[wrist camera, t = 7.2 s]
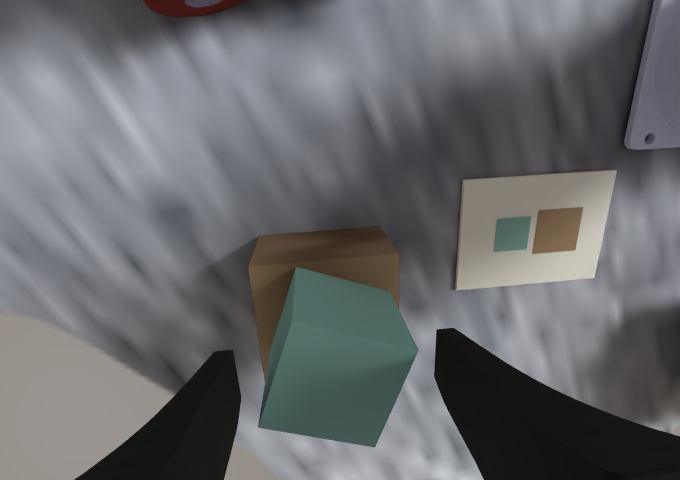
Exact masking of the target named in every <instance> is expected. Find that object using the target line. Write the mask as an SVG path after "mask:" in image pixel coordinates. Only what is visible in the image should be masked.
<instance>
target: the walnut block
mask: <svg viewBox="0 0 680 480" xmlns="http://www.w3.org/2000/svg"><path fill="white" fill-rule="evenodd" d="M296 267H299V268H303V269H307V270H310V271H314V272H318V273H322V274H326V275H330V276H334V277H337V278H341V279H345V280H349V281H353V282H357V283H360V284H364V285H368V286H372V287H376V288H380V289H384V290H387V291H390V293H391V295H392V297H393V299H394V301H395V303H396V305H397V307H398V309H399V253H398V251H397V250H396V249H395V247H394V246H393V245H392V243H391V242H390V240H389V239H388V238H387V236H386V235H385V233H384V232H383V231H382V229H381V228H380V227H368V228H355V229H342V230H329V231H316V232H303V233H290V234H277V235H264V236H259V238H258V241H257V243H256V246H255V249H254V252H253V254H252V257H251V260H250V262H249V265H248V270H249V277H250V284H251V290H252V297H253V304H254V311H255V318H256V324H257V331H258V338H259V345H260V351H261V358H262V365H263V372H264V379H265V380H266V374H267V368H268V361H269V355H270V349H271V346H272V343H273V340H274V336H275V333H276V330H277V327H278V323H279V320H280V317H281V314H282V310H283V307H284V304H285V301H286V297H287V294H288V291H289V288H290V284H291V281H292V278H293V275H294V271H295V268H296Z"/></svg>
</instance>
